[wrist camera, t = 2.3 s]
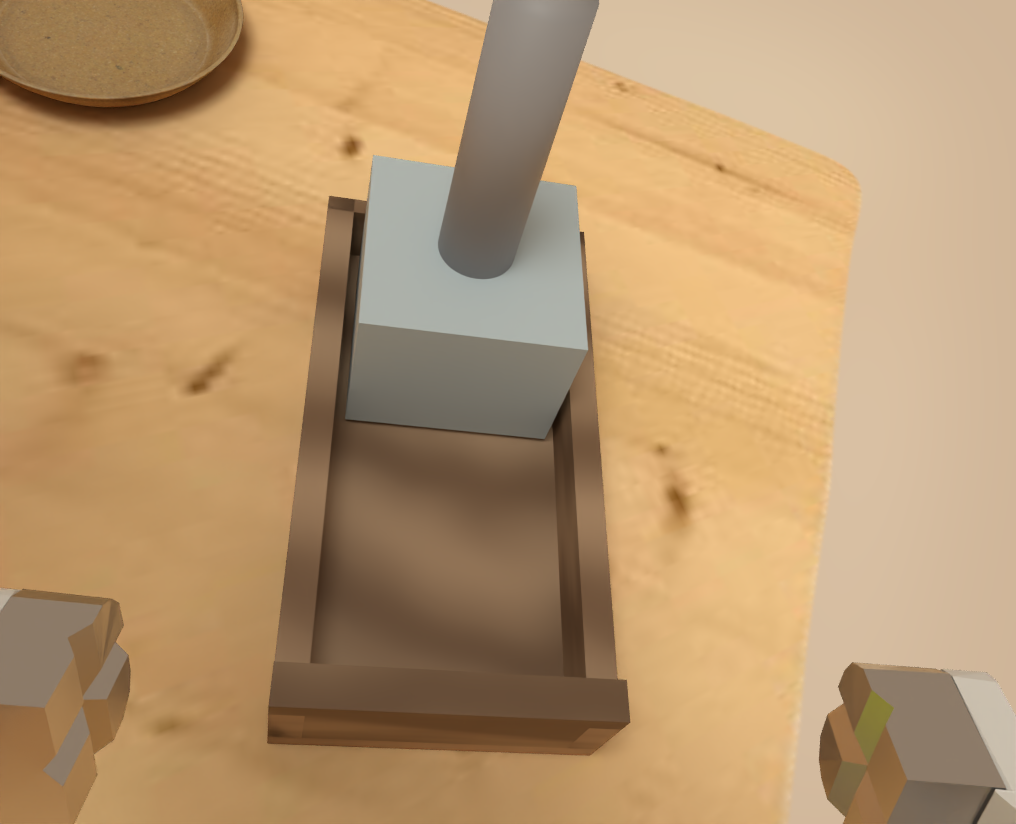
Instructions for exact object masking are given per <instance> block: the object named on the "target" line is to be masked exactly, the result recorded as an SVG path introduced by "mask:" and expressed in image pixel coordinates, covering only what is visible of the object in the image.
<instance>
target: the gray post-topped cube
mask: <svg viewBox="0 0 1016 824" xmlns="http://www.w3.org/2000/svg"><path fill="white" fill-rule="evenodd" d="M598 5H599V0H493V4H492V8H491V12H490V16H489V21H488V25H487V30H486V34H485V38H484V43H483V47H482V51H481V56H480V60H479V64H478V69H477V73H476V78H475V82H474V86H473V91H472V95H471V99H470V104H469V108H468V112H467V117H466V121H465V126H464V130H463V134H462V139H461V143H460V147H459V152H458V156H457V160H456V165H455V167H448V166H441V165H435V164H428V163H422V162H415V161H409V160H402V159H395V158H389V157H382V156H376V155H373V161H372V168H371V176H370V183H369V191H368V198H367V206H366V213H365V221H364V229H363V236H362V244H361V251H360V259H359V268H358V279H357V290H356V302H355V313H354V324H353V335H352V346H351V357H350V368H349V379H348V390H347V401H346V413H345V419H349V420H359V421H369V422H379V423H389V424H399V425H409V426H419V427H429V428H439V429H449V430H459V431H469V432H479V433H489V434H499V435H509V436H519V437H528V438H538V439H545V437H546V435H547V433H548V431H549V429H550V427H551V425H552V423H553V421H554V419H555V417H556V415H557V413H558V411H559V409H560V407H561V405H562V403H563V400H564V398H565V396H566V394H567V392H568V390H569V388H570V386H571V384H572V382H573V380H574V378H575V376H576V374H577V372H578V370H579V368H580V366H581V364H582V362H583V360H584V358H585V355H586V353H587V351H588V342H587V328H586V314H585V300H584V286H583V273H582V259H581V245H580V231H579V217H578V203H577V189H576V186H573V185H566V184H560V183H553V182H546V181H540V180H541V177H542V174H543V171H544V168H545V165H546V162H547V159H548V156H549V153H550V150H551V147H552V144H553V141H554V138H555V135H556V132H557V129H558V126H559V123H560V120H561V117H562V114H563V111H564V108H565V105H566V102H567V99H568V96H569V93H570V90H571V87H572V84H573V81H574V78H575V75H576V72H577V69H578V66H579V63H580V60H581V57H582V54H583V51H584V48H585V45H586V42H587V39H588V36H589V33H590V30H591V27H592V24H593V21H594V18H595V15H596V12H597V9H598Z"/></svg>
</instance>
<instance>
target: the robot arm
mask: <svg viewBox="0 0 1016 824" xmlns="http://www.w3.org/2000/svg"><path fill="white" fill-rule="evenodd" d="M123 626H124V625H123V620H122V615H121V610H120V605H119V603H118V602H116V601H114V600H113V599H108V598H99V597H90V596H81V595H72V594H63V593H54V592H45V591H36V590H27V589H22V590H17V589H9V588H0V824H74V823H75V821H76V819H77V817H78V815H79V812H80V810H81V808H82V806H83V804H84V802H85V800H86V798H87V796H88V793H89V791H90V789H91V787H92V785H93V783H94V781H95V779H96V777H97V770H96V764H95V759H94V754H95V753H96V752H98V751H99V750H100V749H102V748H103V747H105V746H106V745H107V744H109V743H110V742H112V741H113V740H114V738H115V736H116V733H117V731H118V729H119V727H120V724H121V722H122V720H123V717H124V713H125V709H126V705H127V700H128V696H129V692H130V664H129V657H128V654H127V653H126V652H125V651H124V650H123V649H122V648H121V647H120V646H119V645H118V644H117V643H116V642H115V641H116V639H117V637H118V635H119V633H120V632H121V630H122V628H123ZM838 687H839V691H840V693H841V696H842V699H843V702H844V703H843V704H842V705H841V706H839V707H838V708H836V709H835V710H833V711H832V712H830V713H829V714H828V715H827V718H826V721H825V724H824V727H823V730H822V733H821V737H820V752H819V763H820V771H821V778H822V782H823V786H824V789H825V792H826V796H827V799H828V800H829V801H830V802H831V803H832V804H833V805H834V806H835V807H836V808H837V809H838V810H839V811H840V812H841V813H842V814H843V815H844V816H845V820H844V822H843V824H1016V715H1015V713H1014V711H1013V709H1012V708H1011V706H1010V704H1009V702H1008V700H1007V699H1006V697H1005V695H1004V693H1003V691H1002V690H1001V688H1000V686H999V684H998V682H997V681H996V679H994V678H993V677H992V676H991V675H990V674H988V673H987V672H975V671H961V670H949V669H941V670H937V669H932V668H919V667H906V666H892V665H880V664H867V663H854V662H852V663H851V664H850V665H849V666H848V668H847V669H846V670H845V671H844V673H843V676H842V678H841V681H840V683H839V686H838Z"/></svg>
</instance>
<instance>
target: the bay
mask: <svg viewBox="0 0 1016 824" xmlns="http://www.w3.org/2000/svg"><path fill="white" fill-rule="evenodd" d="M366 206H367V201H362V200H355V199H348V198H341V197H334V196H329V203H328V211H327V220H326V228H325V237H324V245H323V254H322V262H321V271H320V279H319V288H318V296H317V305H316V313H315V322H314V330H313V339H312V347H311V356H310V364H309V373H308V381H307V390H306V398H305V407H304V415H303V424H302V432H301V441H300V450H299V458H298V467H297V475H296V484H295V492H294V501H293V509H292V518H291V526H290V535H289V543H288V552H287V560H286V569H285V577H284V586H283V594H282V603H281V611H280V620H279V628H278V637H277V645H276V654H275V661H274V665H273V674H272V682H271V691H270V699H269V711H268V741H267V743H271V744H298V745H325V746H352V747H379V748H406V749H432V750H459V751H486V752H513V753H540V754H567V755H591V754H592V753H593V752H594V751H596V750H597V749H598V748H599V747H601V746H602V745H603V744H604V743H605V742H607V741H608V740H609V739H610V738H612V737H613V736H614V735H615V734H617V733H618V732H619V731H620V730H621V729H623V728H624V727H625V726H626V725H628V724H629V723H630V715H629V702H628V690H627V680H618V679H617V666H616V653H615V640H614V626H613V613H612V600H611V587H610V573H609V560H608V547H607V533H606V520H605V507H604V493H603V480H602V467H601V454H600V440H599V427H598V414H597V400H596V387H595V374H594V361H593V347H592V334H591V321H590V307H589V294H588V281H587V267H586V254H585V241H584V232H580V245H581V259H582V273H583V286H584V300H585V314H586V328H587V342H588V351H587V353H586V355H585V358H584V360H583V362H582V364H581V366H580V368H579V370H578V372H577V374H576V376H575V378H574V380H573V382H572V384H571V386H570V388H569V390H568V392H567V394H566V396H565V398H564V400H563V403H562V405H561V407H560V409H559V411H558V413H557V415H556V417H555V419H554V421H553V423H552V425H551V427H550V429H549V431H548V433H547V435H546V437H545V439H538V438H528V437H519V436H509V435H499V434H489V433H479V432H469V431H459V430H449V429H439V428H429V427H419V426H409V425H399V424H389V423H379V422H369V421H359V420H349V419H345V413H346V401H347V390H348V379H349V368H350V357H351V346H352V335H353V324H354V313H355V302H356V290H357V279H358V268H359V259H360V251H361V244H362V236H363V229H364V221H365V213H366Z"/></svg>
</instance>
